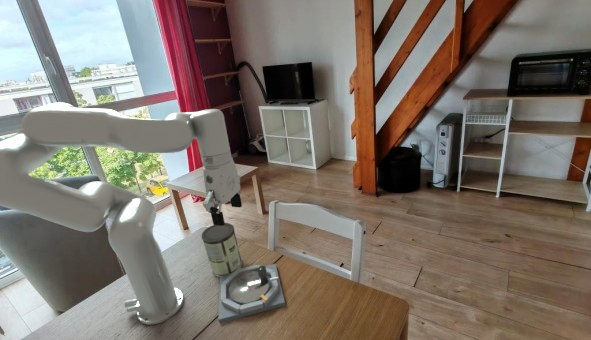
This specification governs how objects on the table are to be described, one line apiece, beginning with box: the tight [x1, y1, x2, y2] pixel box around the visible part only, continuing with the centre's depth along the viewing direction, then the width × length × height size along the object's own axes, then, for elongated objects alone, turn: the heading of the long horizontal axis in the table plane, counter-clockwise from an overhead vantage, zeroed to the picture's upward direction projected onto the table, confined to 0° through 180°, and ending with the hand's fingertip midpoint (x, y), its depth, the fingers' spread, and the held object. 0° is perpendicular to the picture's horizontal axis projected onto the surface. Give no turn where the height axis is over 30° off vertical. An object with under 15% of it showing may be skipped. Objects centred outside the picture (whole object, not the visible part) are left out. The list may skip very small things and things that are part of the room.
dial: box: [229, 265, 270, 305], centre depth 86 cm, size 12×12×6 cm
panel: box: [218, 263, 286, 324], centre depth 87 cm, size 18×17×3 cm
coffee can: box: [201, 222, 243, 278], centre depth 97 cm, size 10×10×14 cm
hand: (228, 215), depth 83 cm, fingers open, 9 cm apart
